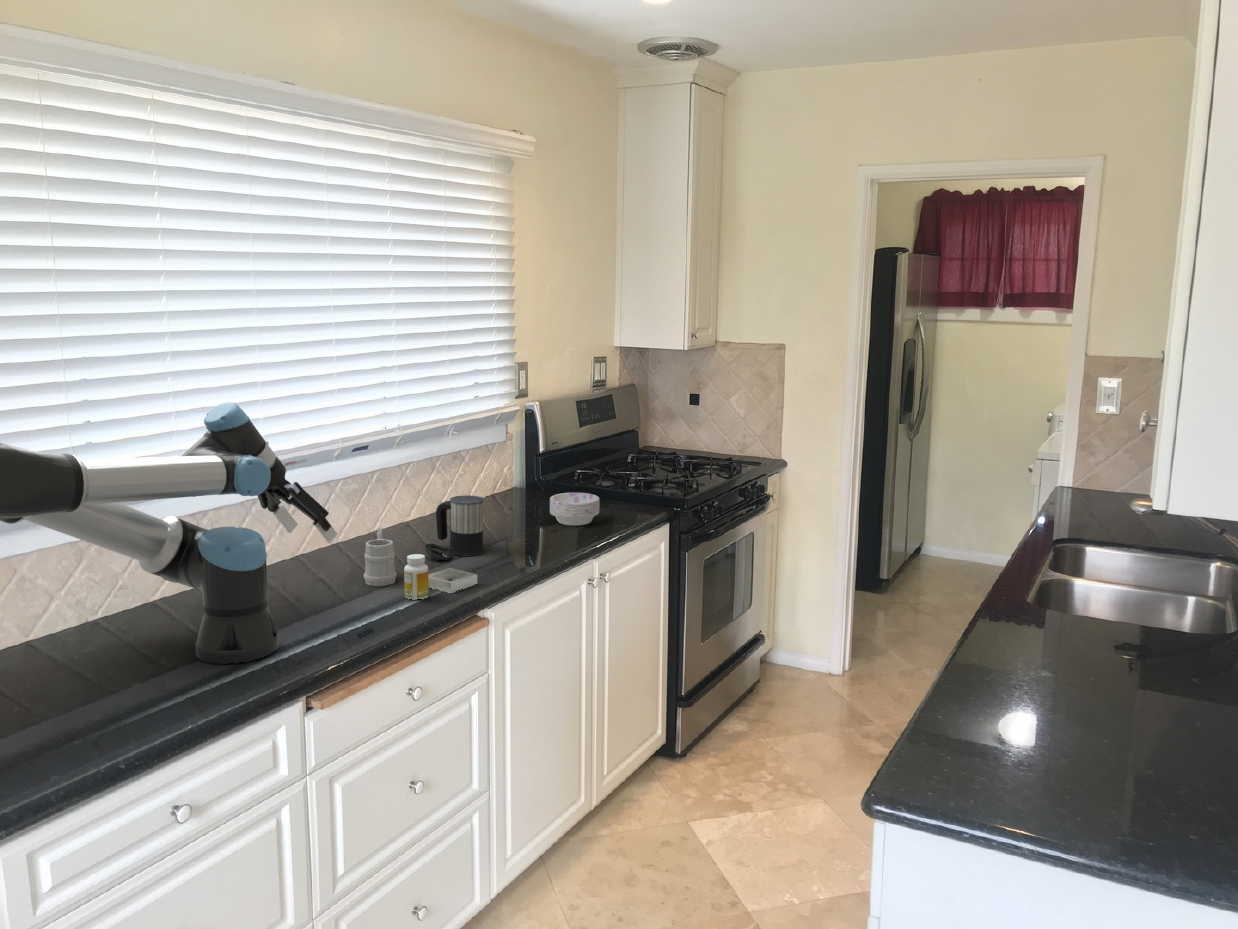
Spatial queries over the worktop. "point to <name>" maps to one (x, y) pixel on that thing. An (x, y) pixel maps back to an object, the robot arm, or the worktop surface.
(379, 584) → the mug
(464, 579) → the square picture frame
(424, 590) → the supplement bottle
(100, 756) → the worktop surface
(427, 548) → the milk frother
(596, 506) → the paper bowls
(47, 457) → the robot arm
